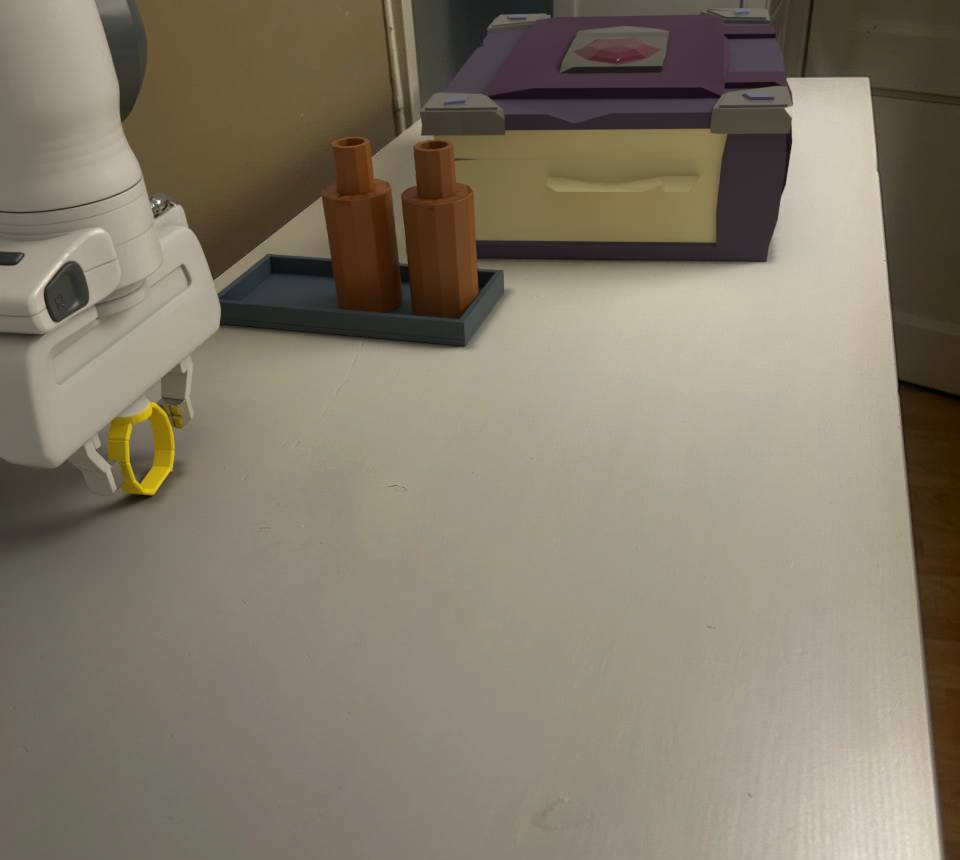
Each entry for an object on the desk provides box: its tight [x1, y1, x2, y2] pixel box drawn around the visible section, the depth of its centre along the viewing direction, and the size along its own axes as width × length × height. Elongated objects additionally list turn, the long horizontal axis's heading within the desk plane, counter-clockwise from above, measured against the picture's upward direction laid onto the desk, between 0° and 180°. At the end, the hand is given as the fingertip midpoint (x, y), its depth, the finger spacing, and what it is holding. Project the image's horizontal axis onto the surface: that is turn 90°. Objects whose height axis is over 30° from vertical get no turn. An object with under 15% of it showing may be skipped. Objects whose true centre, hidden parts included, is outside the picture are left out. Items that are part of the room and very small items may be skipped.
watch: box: [106, 395, 176, 496], centre depth 64 cm, size 6×3×6 cm, turn 168°
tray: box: [217, 253, 505, 347], centre depth 86 cm, size 23×11×2 cm, turn 72°
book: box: [419, 7, 794, 262], centre depth 103 cm, size 33×45×14 cm
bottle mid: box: [320, 136, 403, 313], centre depth 81 cm, size 6×6×14 cm
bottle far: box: [400, 139, 479, 319], centre depth 80 cm, size 6×6×14 cm
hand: (145, 454), depth 64 cm, fingers open, 7 cm apart
